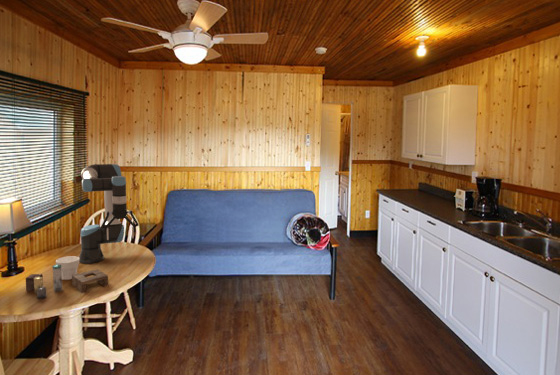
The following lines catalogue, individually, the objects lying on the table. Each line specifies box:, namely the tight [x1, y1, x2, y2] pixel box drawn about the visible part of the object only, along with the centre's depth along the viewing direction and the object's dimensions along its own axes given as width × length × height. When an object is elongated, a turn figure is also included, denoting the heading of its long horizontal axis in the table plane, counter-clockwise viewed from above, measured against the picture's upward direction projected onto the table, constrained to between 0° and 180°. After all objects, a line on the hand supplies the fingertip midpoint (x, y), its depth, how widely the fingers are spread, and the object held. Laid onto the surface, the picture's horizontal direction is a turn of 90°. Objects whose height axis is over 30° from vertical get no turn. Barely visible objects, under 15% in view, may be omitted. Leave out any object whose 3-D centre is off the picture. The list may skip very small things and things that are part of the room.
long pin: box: [52, 264, 63, 293], centre depth 206 cm, size 4×4×14 cm
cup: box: [55, 255, 80, 281], centre depth 225 cm, size 12×12×11 cm
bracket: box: [71, 268, 109, 293], centre depth 215 cm, size 14×14×6 cm
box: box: [25, 273, 43, 292], centre depth 208 cm, size 6×6×7 cm
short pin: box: [36, 286, 47, 300], centre depth 198 cm, size 4×4×5 cm
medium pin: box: [34, 277, 44, 295], centre depth 203 cm, size 4×4×8 cm
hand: (120, 238), depth 222 cm, fingers open, 13 cm apart
